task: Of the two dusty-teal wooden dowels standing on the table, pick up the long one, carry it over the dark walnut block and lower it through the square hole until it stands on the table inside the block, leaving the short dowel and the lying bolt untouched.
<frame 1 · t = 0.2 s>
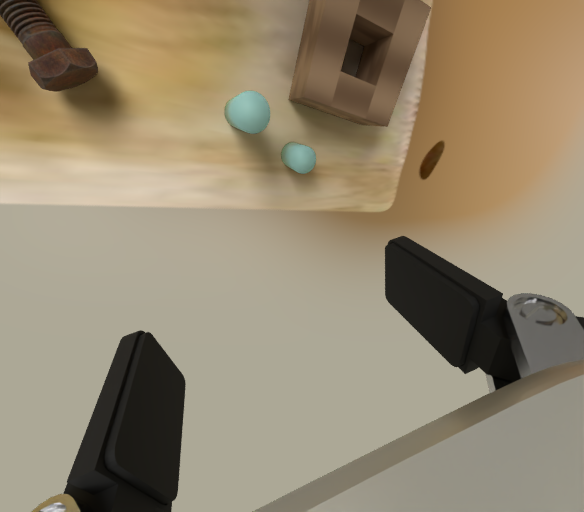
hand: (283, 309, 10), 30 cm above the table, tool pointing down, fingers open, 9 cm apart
socket block: (341, 62, 32), on the table
short dowel: (292, 154, 36), on the table
tall dowel: (238, 113, 32), on the table
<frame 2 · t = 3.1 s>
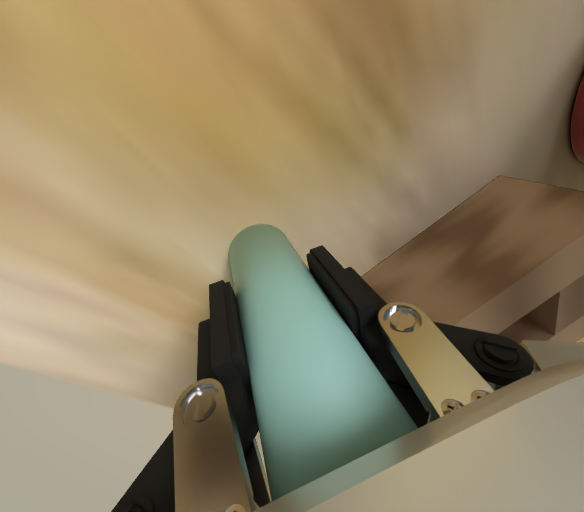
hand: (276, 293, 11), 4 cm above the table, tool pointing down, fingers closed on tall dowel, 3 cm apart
socket block: (441, 283, 20), on the table
tall dowel: (260, 253, 14), on the table, touching gripper
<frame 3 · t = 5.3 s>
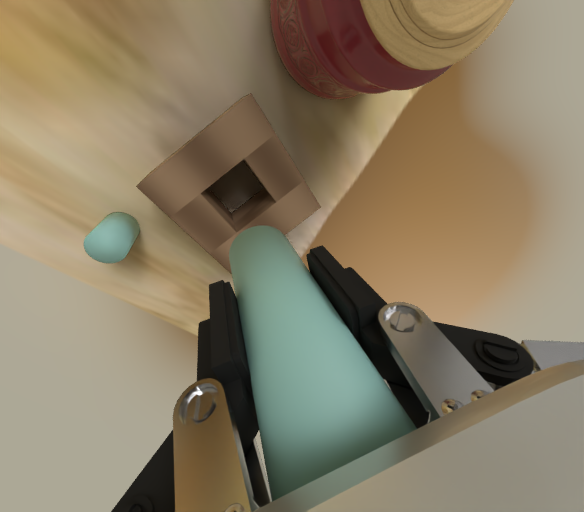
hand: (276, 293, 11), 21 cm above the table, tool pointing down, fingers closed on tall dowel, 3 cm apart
socket block: (234, 184, 28), on the table
short dowel: (121, 227, 27), on the table
tall dowel: (260, 254, 14), point 17 cm above the table, touching gripper
canister: (331, 22, 24), on the table
when the fingers open (7 cm above the table, at t = 7.8 s): tall dowel drops 3 cm, resting in socket block.
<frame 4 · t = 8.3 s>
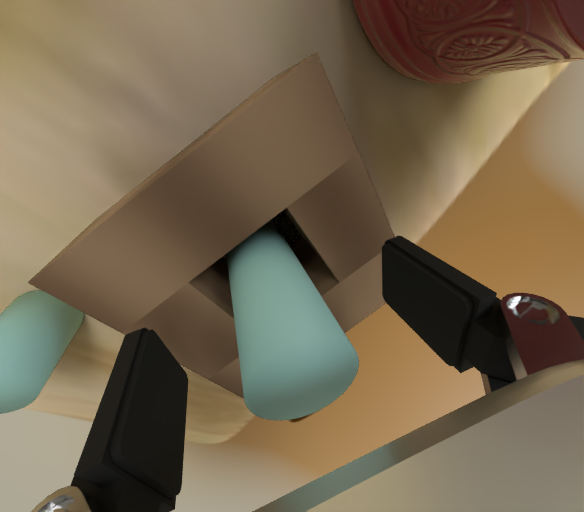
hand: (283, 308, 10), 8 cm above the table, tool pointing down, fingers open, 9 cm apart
socket block: (251, 232, 16), on the table
short dowel: (49, 313, 15), on the table
tall dowel: (250, 233, 16), resting in socket block
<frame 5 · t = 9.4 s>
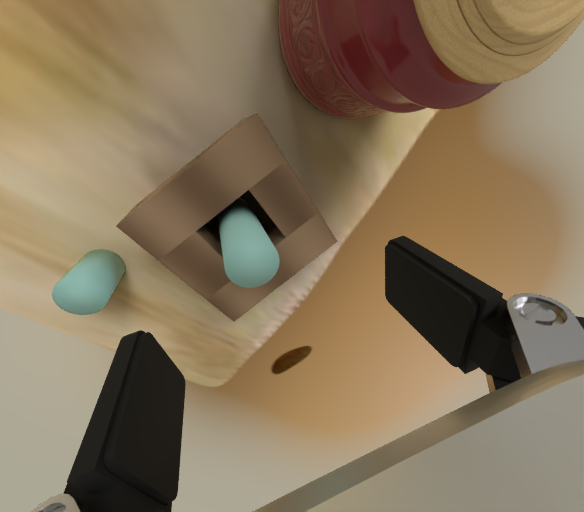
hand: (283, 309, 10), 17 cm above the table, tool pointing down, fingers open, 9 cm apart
socket block: (235, 213, 25), on the table
short dowel: (104, 266, 23), on the table
tall dowel: (234, 214, 25), resting in socket block
canister: (346, 33, 21), on the table
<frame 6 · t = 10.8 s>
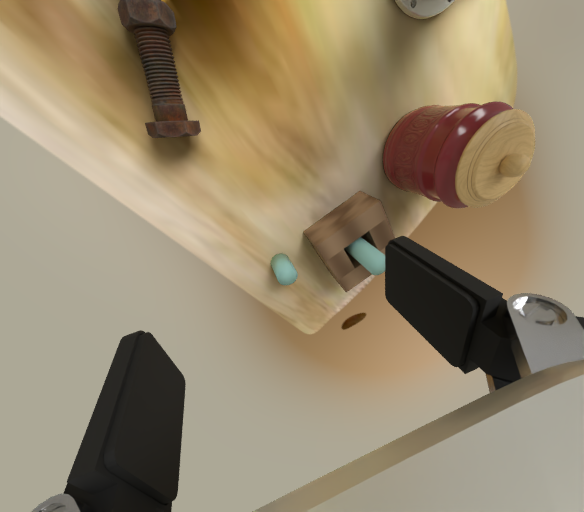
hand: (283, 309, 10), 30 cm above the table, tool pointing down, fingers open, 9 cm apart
socket block: (344, 236, 46), on the table
short dowel: (279, 261, 45), on the table
tall dowel: (344, 236, 46), resting in socket block
bolt: (162, 61, 28), on the table
canister: (413, 150, 42), on the table
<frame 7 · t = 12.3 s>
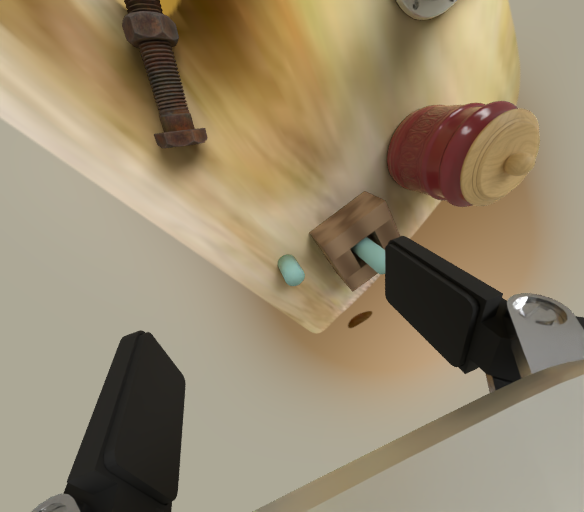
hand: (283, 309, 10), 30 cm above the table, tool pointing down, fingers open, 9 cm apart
socket block: (350, 235, 47), on the table
short dowel: (286, 262, 45), on the table
tall dowel: (349, 236, 47), resting in socket block
bolt: (166, 72, 29), on the table
canister: (417, 149, 43), on the table
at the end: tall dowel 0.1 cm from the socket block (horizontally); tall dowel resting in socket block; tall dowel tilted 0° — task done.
